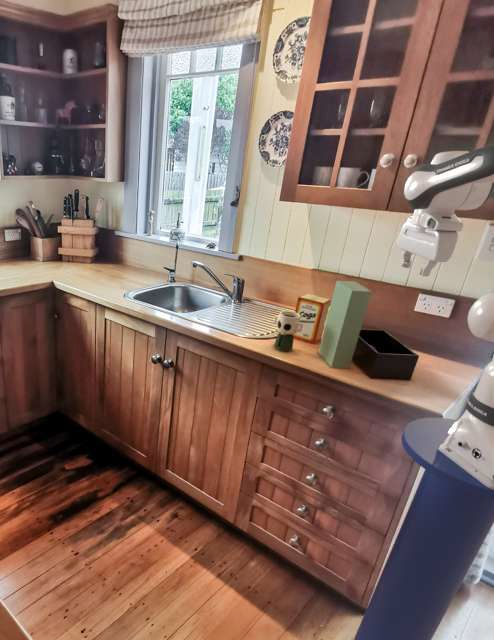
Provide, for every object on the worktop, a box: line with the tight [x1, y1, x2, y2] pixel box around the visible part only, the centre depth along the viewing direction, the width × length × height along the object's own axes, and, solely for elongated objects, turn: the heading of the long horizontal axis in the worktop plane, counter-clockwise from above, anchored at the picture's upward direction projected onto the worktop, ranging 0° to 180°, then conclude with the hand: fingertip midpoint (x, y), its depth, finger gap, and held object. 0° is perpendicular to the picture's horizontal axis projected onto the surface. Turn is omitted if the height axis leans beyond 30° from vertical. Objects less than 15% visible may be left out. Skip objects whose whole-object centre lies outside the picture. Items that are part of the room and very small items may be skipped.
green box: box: [318, 280, 372, 369], centre depth 153 cm, size 12×6×26 cm, turn 178°
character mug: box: [273, 310, 303, 352], centre depth 163 cm, size 11×7×13 cm, turn 40°
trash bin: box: [351, 328, 420, 381], centre depth 155 cm, size 22×13×9 cm, turn 178°
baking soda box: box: [293, 293, 332, 345], centre depth 173 cm, size 10×6×16 cm
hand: (414, 271), depth 128 cm, fingers open, 8 cm apart
